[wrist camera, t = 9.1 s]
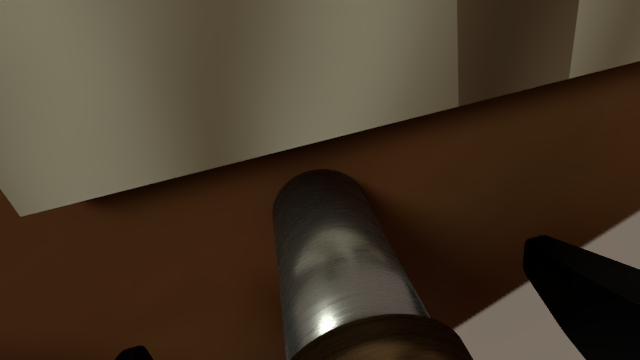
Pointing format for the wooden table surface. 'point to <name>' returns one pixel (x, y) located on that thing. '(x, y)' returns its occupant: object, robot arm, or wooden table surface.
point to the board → (260, 77)
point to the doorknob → (347, 280)
